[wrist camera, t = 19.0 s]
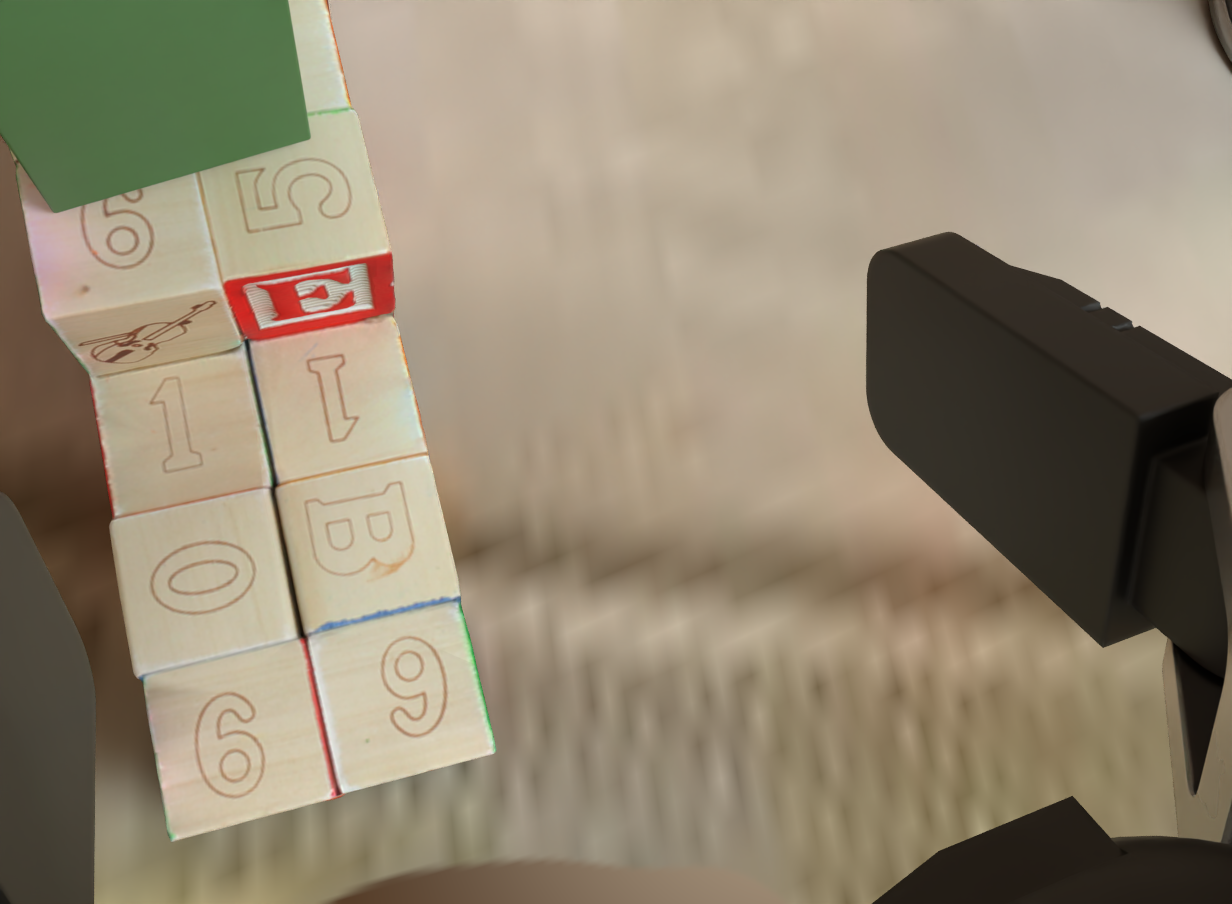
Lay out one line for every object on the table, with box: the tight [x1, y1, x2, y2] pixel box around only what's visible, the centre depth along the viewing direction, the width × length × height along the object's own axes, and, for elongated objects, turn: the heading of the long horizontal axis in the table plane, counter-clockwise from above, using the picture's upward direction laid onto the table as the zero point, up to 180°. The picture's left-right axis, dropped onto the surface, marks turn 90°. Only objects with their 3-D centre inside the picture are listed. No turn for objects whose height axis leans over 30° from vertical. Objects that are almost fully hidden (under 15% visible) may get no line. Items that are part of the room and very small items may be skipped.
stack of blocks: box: [9, 0, 496, 842], centre depth 27 cm, size 21×6×12 cm, turn 14°
